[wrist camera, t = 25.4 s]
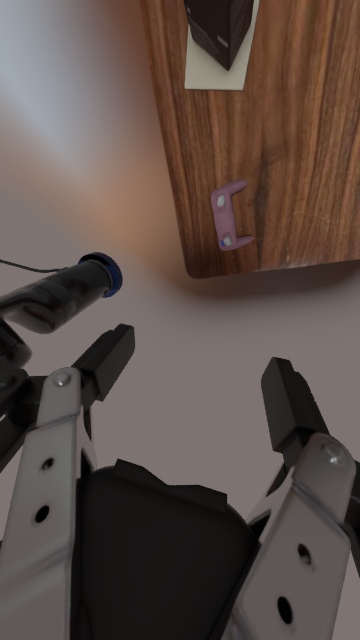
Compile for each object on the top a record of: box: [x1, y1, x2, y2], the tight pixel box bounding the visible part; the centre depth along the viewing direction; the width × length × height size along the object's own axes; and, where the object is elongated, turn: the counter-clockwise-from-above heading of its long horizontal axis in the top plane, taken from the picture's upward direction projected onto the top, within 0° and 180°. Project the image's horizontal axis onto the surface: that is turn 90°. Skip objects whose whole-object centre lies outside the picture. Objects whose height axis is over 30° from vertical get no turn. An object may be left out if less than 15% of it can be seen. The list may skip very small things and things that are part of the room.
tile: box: [185, 0, 260, 91], centre depth 22 cm, size 8×9×1 cm
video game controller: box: [211, 180, 253, 251], centre depth 30 cm, size 10×5×7 cm, turn 18°
